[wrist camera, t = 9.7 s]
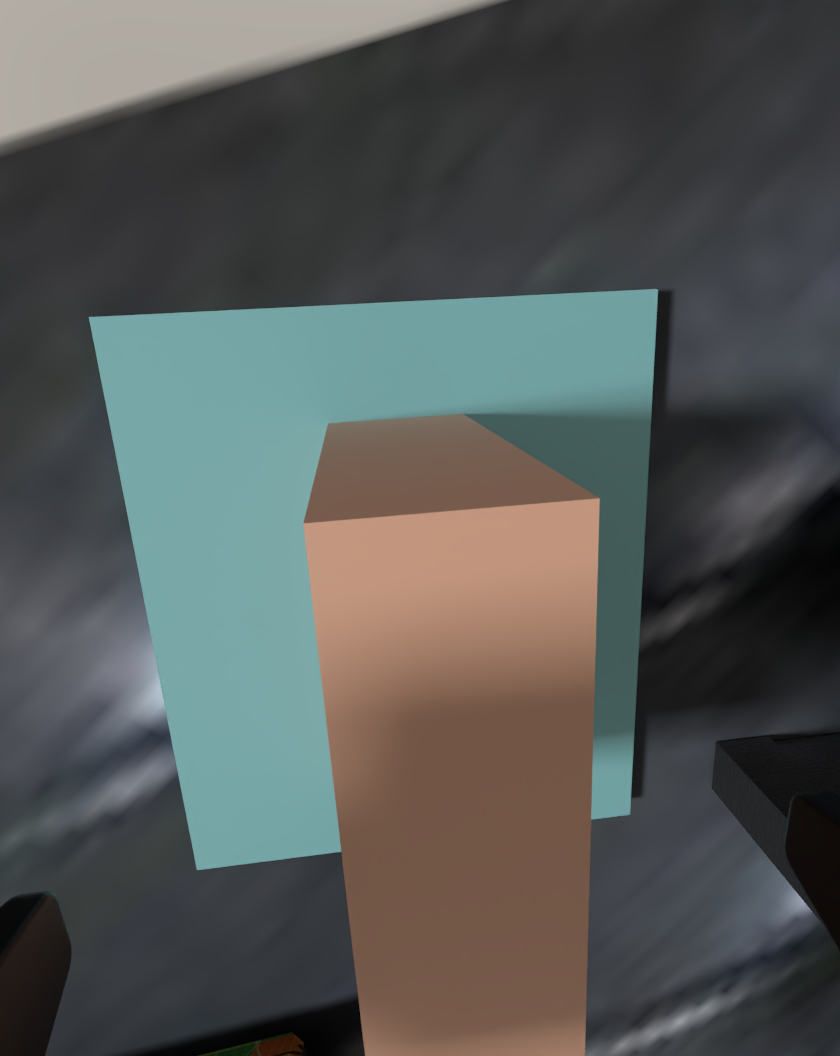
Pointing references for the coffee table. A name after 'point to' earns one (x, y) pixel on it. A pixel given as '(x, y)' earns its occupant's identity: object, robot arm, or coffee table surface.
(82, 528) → the coffee table surface
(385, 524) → the terracotta panel
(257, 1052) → the puzzle game
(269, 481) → the teal mat
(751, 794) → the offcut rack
